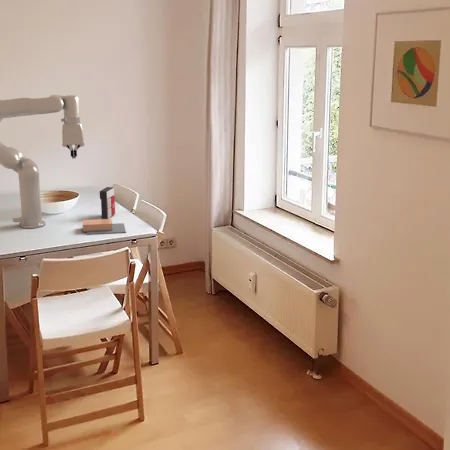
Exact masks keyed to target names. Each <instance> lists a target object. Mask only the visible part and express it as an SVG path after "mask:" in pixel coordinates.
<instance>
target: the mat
mask: <svg viewBox="0 0 450 450" xmlns="http://www.w3.org/2000/svg"><path fill="white" fill-rule="evenodd" d="M126 233H127V231H126V227H125V223H123V222H121V223H118V222H117V223H112V231H92V232H86V235H87V236H91V235H105V234H106V235H107V234H108V235H109V234H111V235H113V234H126Z"/></svg>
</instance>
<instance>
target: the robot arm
mask: <svg viewBox="0 0 450 450" xmlns="http://www.w3.org/2000/svg"><path fill="white" fill-rule="evenodd" d="M61 111H63V118H60V121H61V123H62V122H63V123H62V126H61V127H62V128H61V130H62V131H61V134H62V135H61V137H62V138H61V139H62V140H61V141H62V144H61V146H62V147H63V148H67V149H68V150H69V151H70V158H72V160H73V159H76V157H78V153H77V152H78V149H79V148H82V147H84V146H85V142H84V141H85V139H84V130H83V125H82V123H81V116H80V99H79V96H78V95H72V94H71V95H68V94H67V95H59V94H53V95H50V96H48V97H40V98H38V97H37V98H30V97H17V98H10V99H0V123H1V122H2V121H3V120H4V119H9V118H16V117H17V118H18V117H26V116H36V115H47V114H54V113H55V114H56V113H59V112H61ZM73 145H74V148H73ZM0 165H1V166H2V167H4V168H5V169H8V170H12V171H14V172H15V173H17V174H18V185H19V186H18V187H19V196H20V197H19V198H20V207H21V208H20V209H21V216H20V217H19V216H18V217H12V222H14V223H18V227H20V228H22V229H23V228H24V229H36V228H41V227H44V226H45V225H46V221H45V220H43V216H42V215H43V213H42V203H41V202H42V201H41V200H42V199H41V188H40V187H41V185H40V171H39V166H38V164H37V163H36V162H35V161H34V160H33V159H31V158H30V157H28V156H27V155H26V154H23V152H21V151H19V150H18V149H17V148H16V147H15V148H14V147H11V146H9V147H8V146H7V145H5V144H3V143H2V142H1V141H0Z"/></svg>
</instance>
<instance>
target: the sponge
mask: <svg viewBox="0 0 450 450" xmlns="http://www.w3.org/2000/svg"><path fill="white" fill-rule="evenodd" d="M112 224H113V221H112V218H109V219H102V218H98V219H83V220H82V232H83V233H87V232H92V231H112Z"/></svg>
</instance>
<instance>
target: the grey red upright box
mask: <svg viewBox="0 0 450 450" xmlns="http://www.w3.org/2000/svg"><path fill="white" fill-rule="evenodd" d="M115 198H116V197H115V188H114V187H113V186H107V187H105V188H103V189H101V190H99V199H100V204H101V205H100V206H101V207H100V209H101V219H108V218H109V219H111V217H113V216H114V215H116V200H115Z"/></svg>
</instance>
